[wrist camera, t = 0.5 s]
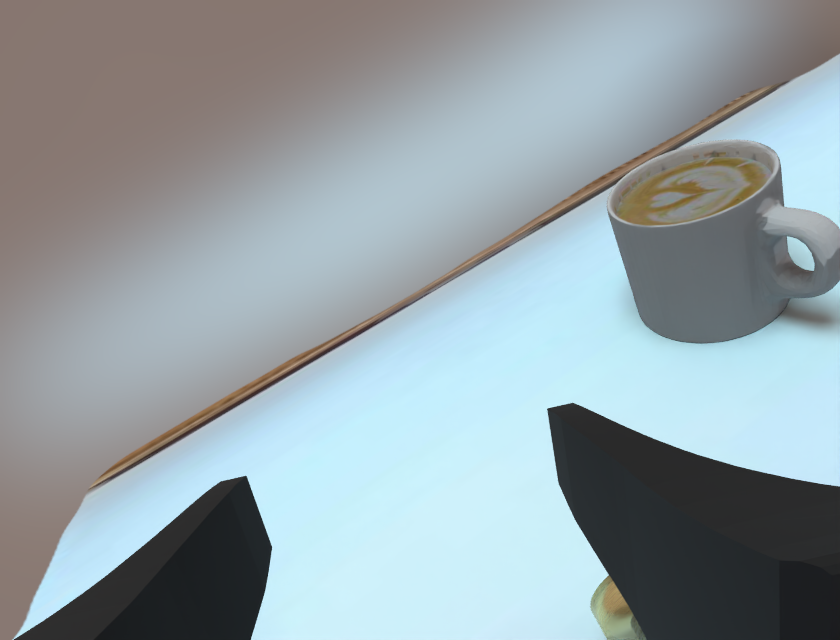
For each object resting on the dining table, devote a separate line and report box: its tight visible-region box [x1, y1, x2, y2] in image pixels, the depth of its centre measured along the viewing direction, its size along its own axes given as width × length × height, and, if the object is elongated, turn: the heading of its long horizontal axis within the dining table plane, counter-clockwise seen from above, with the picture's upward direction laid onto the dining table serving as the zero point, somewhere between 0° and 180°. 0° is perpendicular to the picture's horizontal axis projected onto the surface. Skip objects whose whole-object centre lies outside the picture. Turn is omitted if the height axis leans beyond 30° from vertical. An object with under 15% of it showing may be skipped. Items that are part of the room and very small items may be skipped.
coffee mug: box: [607, 140, 840, 343], centre depth 33 cm, size 13×10×10 cm
